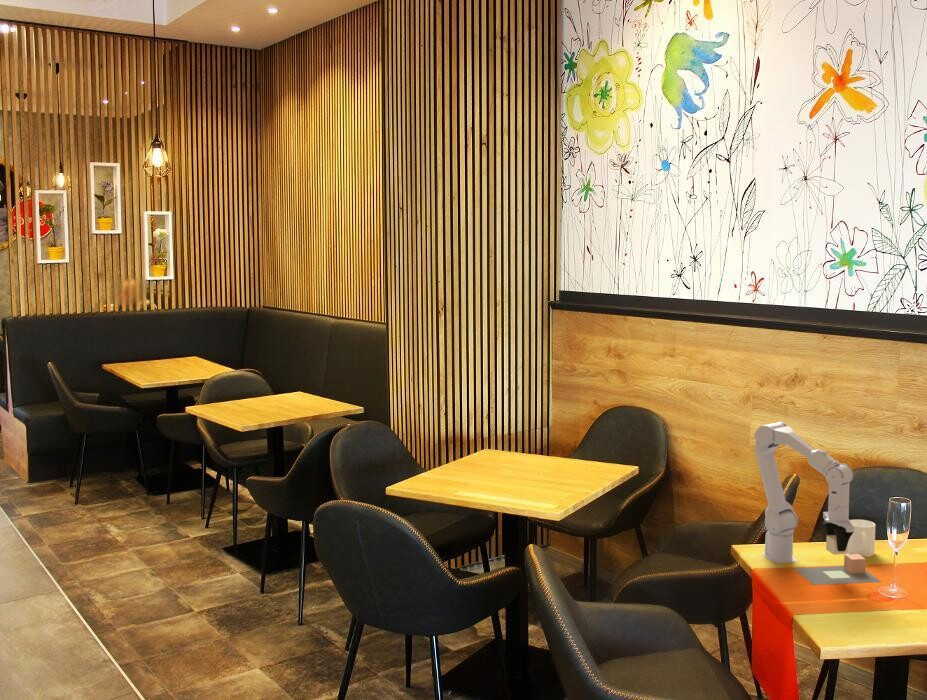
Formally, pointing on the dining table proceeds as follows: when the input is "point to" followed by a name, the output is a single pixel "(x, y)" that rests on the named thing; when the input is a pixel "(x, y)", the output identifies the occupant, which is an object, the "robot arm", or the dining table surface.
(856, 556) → the terracotta block
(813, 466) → the robot arm
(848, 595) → the dining table surface
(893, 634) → the dining table surface
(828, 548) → the cream block
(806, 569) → the mat
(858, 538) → the mug
